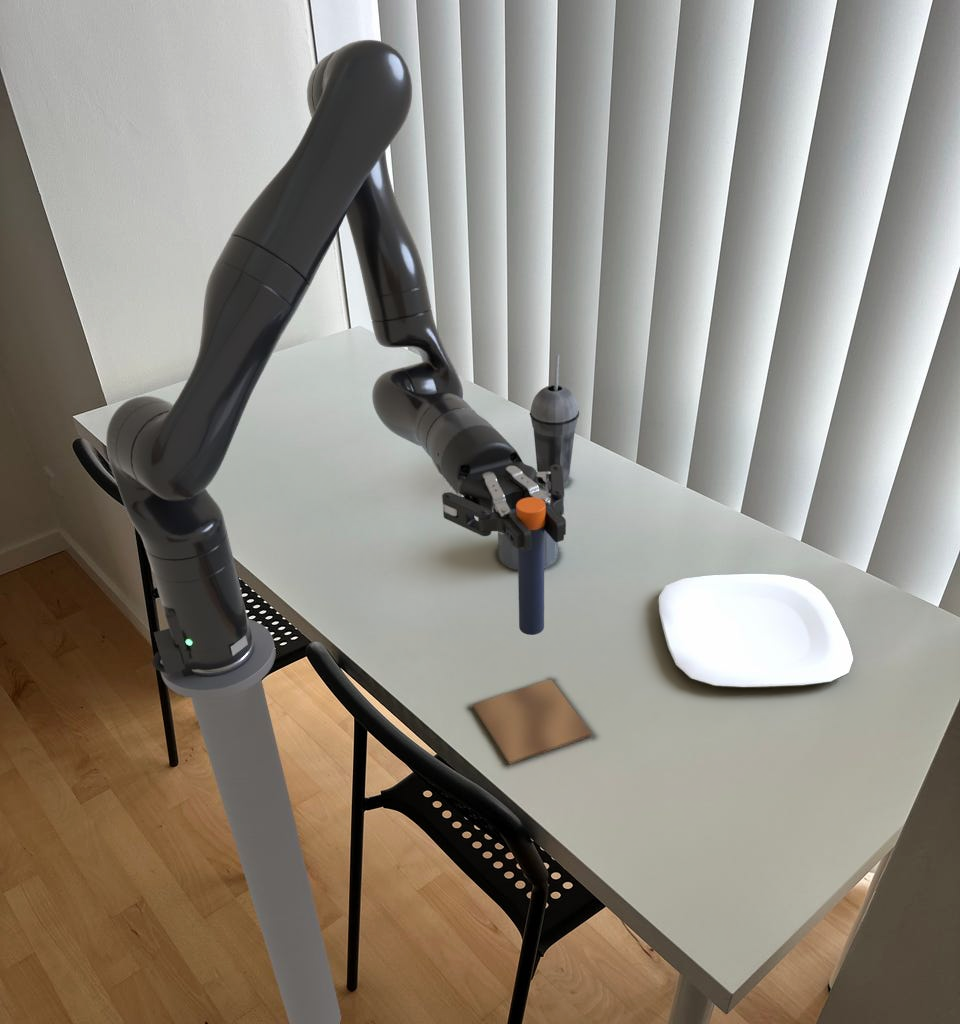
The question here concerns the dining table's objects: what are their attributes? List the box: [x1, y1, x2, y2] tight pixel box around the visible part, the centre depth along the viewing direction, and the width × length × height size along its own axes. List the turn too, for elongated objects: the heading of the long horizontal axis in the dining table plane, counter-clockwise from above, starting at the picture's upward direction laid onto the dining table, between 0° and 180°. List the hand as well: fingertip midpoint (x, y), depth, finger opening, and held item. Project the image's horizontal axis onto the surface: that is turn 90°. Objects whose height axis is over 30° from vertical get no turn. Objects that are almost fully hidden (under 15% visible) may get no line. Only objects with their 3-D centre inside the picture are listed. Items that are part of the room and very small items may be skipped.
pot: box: [497, 490, 559, 572], centre depth 134 cm, size 8×8×8 cm
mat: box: [472, 678, 592, 765], centre depth 111 cm, size 10×10×1 cm
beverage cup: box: [529, 354, 580, 488], centre depth 145 cm, size 7×7×20 cm
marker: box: [516, 497, 546, 636], centre depth 98 cm, size 3×3×15 cm
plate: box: [658, 573, 854, 689], centre depth 120 cm, size 22×22×2 cm
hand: (544, 537), depth 92 cm, fingers closed on marker, 3 cm apart
